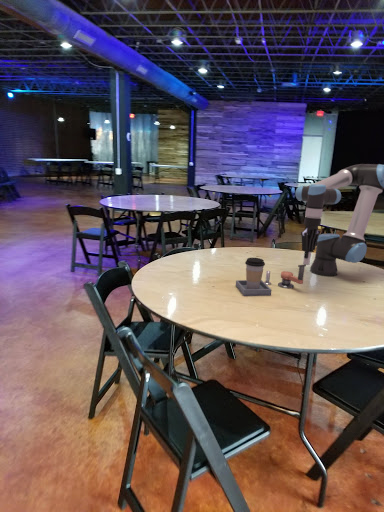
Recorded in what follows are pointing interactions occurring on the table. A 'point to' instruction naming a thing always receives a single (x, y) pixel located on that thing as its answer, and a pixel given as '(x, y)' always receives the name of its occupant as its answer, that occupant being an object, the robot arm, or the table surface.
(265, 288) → the tray
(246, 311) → the table surface
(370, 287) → the table surface
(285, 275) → the crank
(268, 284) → the peg
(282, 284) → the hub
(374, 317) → the table surface
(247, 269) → the coffee cup
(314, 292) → the table surface
